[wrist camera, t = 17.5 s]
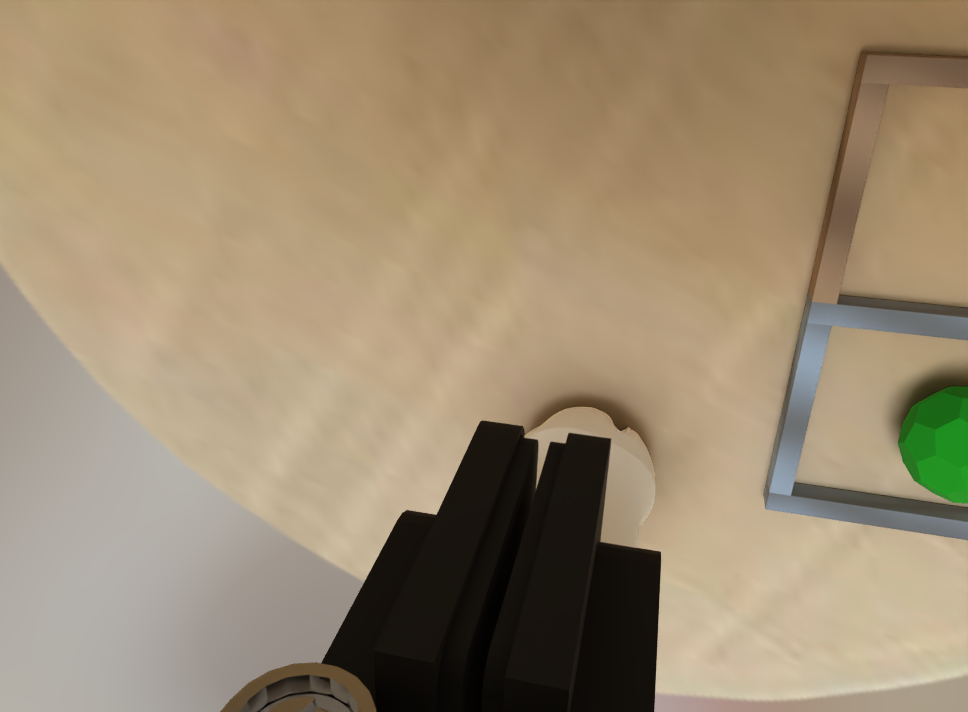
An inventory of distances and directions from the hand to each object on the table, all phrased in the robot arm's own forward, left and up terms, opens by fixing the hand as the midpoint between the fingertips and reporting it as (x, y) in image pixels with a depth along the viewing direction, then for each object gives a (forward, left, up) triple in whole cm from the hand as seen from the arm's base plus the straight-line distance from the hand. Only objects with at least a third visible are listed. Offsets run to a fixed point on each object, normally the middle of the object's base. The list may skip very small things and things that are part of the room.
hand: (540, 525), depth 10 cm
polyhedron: (+11, +15, -27) cm, 33 cm away
